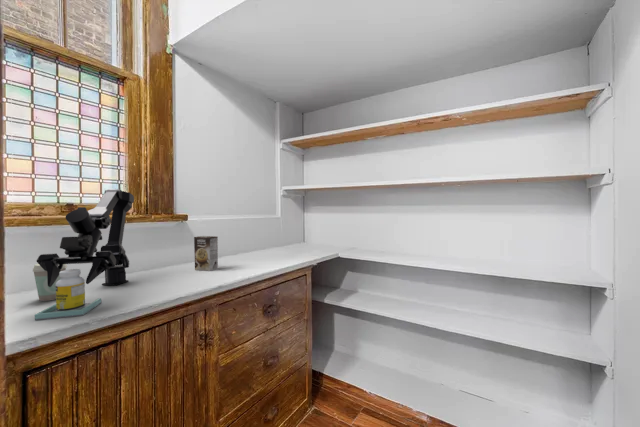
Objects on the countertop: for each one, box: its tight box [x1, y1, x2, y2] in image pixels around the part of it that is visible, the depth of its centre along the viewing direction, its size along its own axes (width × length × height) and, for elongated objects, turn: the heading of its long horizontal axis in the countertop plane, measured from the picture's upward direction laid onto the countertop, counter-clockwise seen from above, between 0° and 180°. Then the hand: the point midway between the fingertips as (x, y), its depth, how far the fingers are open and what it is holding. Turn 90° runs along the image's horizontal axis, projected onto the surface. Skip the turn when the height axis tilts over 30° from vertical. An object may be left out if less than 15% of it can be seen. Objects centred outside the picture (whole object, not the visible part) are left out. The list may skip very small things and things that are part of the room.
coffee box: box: [193, 235, 219, 272], centre depth 138 cm, size 9×6×16 cm
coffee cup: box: [32, 263, 68, 302], centre depth 96 cm, size 9×8×12 cm
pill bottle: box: [55, 268, 86, 312], centre depth 84 cm, size 6×6×12 cm
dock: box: [34, 297, 102, 321], centre depth 84 cm, size 11×11×2 cm
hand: (68, 284), depth 83 cm, fingers open, 9 cm apart
